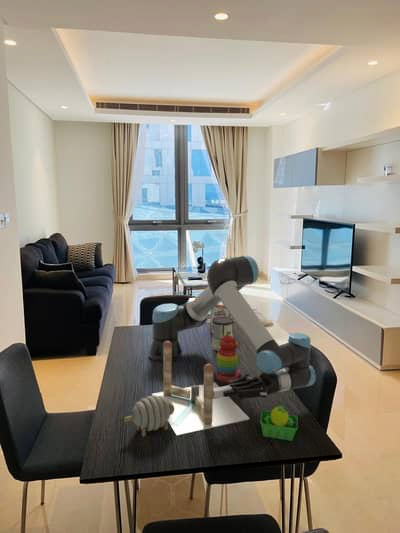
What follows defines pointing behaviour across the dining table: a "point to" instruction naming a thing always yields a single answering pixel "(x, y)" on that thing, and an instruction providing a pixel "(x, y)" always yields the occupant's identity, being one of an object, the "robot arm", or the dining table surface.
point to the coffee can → (221, 330)
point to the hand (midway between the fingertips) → (212, 393)
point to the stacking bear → (227, 360)
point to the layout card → (190, 417)
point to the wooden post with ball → (167, 386)
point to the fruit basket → (279, 424)
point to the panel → (206, 395)
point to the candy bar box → (218, 313)
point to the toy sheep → (151, 413)
